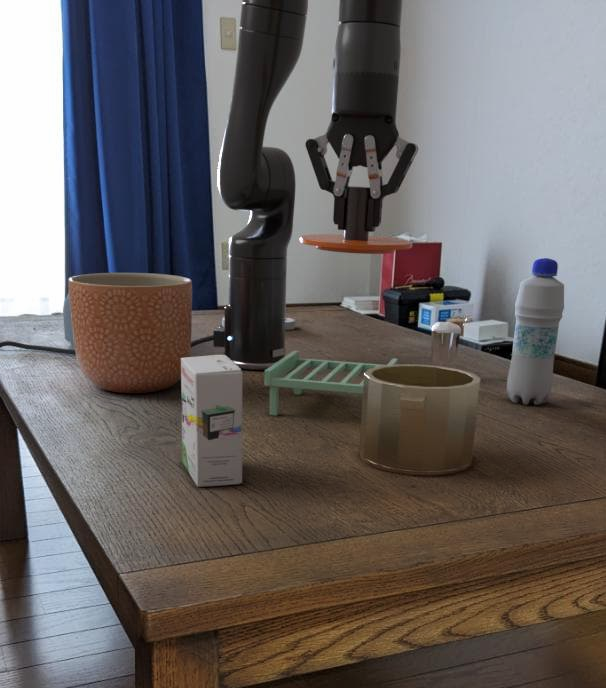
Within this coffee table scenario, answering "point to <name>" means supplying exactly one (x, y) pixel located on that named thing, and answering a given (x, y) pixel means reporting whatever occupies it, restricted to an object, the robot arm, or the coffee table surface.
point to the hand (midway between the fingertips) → (356, 229)
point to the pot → (419, 419)
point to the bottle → (536, 334)
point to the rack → (312, 376)
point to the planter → (131, 329)
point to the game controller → (288, 323)
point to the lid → (356, 230)
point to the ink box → (212, 420)
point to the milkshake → (444, 343)
